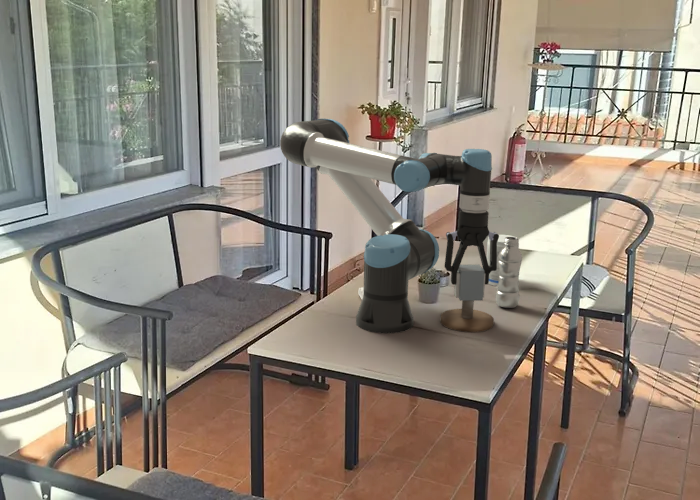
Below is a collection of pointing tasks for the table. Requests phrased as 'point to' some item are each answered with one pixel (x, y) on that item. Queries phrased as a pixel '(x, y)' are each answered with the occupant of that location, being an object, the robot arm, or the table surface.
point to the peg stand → (467, 319)
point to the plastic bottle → (509, 274)
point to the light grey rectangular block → (471, 282)
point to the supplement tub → (500, 245)
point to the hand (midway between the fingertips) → (468, 295)
